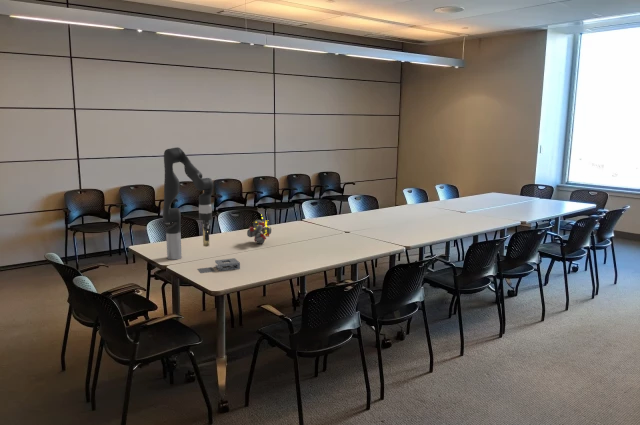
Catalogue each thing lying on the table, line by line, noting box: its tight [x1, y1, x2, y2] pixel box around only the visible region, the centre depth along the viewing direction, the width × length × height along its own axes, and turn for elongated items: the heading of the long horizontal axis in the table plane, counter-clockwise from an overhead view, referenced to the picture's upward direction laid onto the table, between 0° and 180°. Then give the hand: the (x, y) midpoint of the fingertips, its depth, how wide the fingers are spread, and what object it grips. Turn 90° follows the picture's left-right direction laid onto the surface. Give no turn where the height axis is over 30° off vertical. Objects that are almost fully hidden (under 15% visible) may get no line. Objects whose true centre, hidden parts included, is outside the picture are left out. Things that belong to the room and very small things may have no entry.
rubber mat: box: [196, 267, 216, 274], centre depth 305 cm, size 10×9×1 cm
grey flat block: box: [214, 258, 241, 272], centre depth 310 cm, size 11×12×4 cm
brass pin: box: [202, 228, 210, 247], centre depth 301 cm, size 4×4×11 cm
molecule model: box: [246, 214, 274, 245], centre depth 373 cm, size 25×21×23 cm
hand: (206, 239), depth 302 cm, fingers closed on brass pin, 3 cm apart
